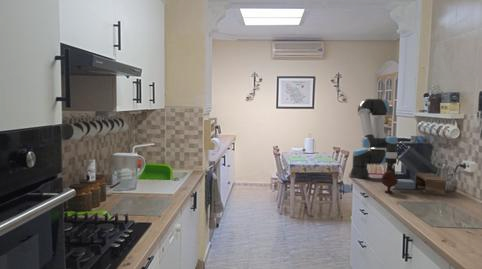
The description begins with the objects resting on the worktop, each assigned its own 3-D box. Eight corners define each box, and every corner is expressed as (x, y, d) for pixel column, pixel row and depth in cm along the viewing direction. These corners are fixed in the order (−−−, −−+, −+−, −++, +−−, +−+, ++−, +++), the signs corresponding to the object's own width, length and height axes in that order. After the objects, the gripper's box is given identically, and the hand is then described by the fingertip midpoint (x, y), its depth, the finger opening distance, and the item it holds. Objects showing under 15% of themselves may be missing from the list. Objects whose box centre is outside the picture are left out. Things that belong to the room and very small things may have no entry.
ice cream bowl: (400, 194, 249) (401, 172, 248) (383, 194, 249) (384, 172, 248) (393, 191, 259) (394, 169, 258) (377, 190, 260) (378, 169, 259)
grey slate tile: (385, 185, 279) (386, 178, 279) (411, 186, 276) (411, 179, 276) (388, 188, 269) (388, 181, 269) (415, 189, 266) (415, 182, 266)
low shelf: (415, 186, 277) (415, 172, 277) (432, 186, 275) (433, 173, 274) (425, 194, 252) (426, 179, 251) (445, 194, 250) (445, 180, 249)
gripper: (400, 160, 259) (399, 190, 261) (393, 155, 284) (391, 183, 285) (389, 159, 261) (388, 189, 262) (382, 155, 285) (381, 183, 287)
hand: (390, 186), depth 274 cm, fingers open, 13 cm apart
